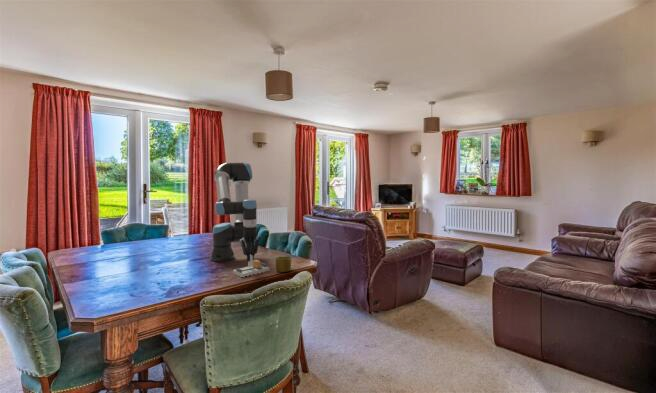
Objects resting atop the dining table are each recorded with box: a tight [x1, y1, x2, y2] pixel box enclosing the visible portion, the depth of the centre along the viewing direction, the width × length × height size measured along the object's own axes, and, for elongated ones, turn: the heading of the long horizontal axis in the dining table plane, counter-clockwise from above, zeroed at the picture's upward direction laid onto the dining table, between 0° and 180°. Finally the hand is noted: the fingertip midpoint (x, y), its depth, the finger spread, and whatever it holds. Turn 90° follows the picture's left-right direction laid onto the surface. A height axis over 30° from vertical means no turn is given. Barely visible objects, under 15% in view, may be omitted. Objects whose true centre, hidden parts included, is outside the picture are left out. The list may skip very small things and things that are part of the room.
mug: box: [275, 255, 292, 273], centre depth 192 cm, size 12×10×10 cm
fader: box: [253, 259, 261, 268], centre depth 190 cm, size 4×2×4 cm, turn 43°
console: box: [232, 261, 270, 278], centre depth 187 cm, size 10×18×4 cm, turn 133°
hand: (250, 266), depth 187 cm, fingers closed
